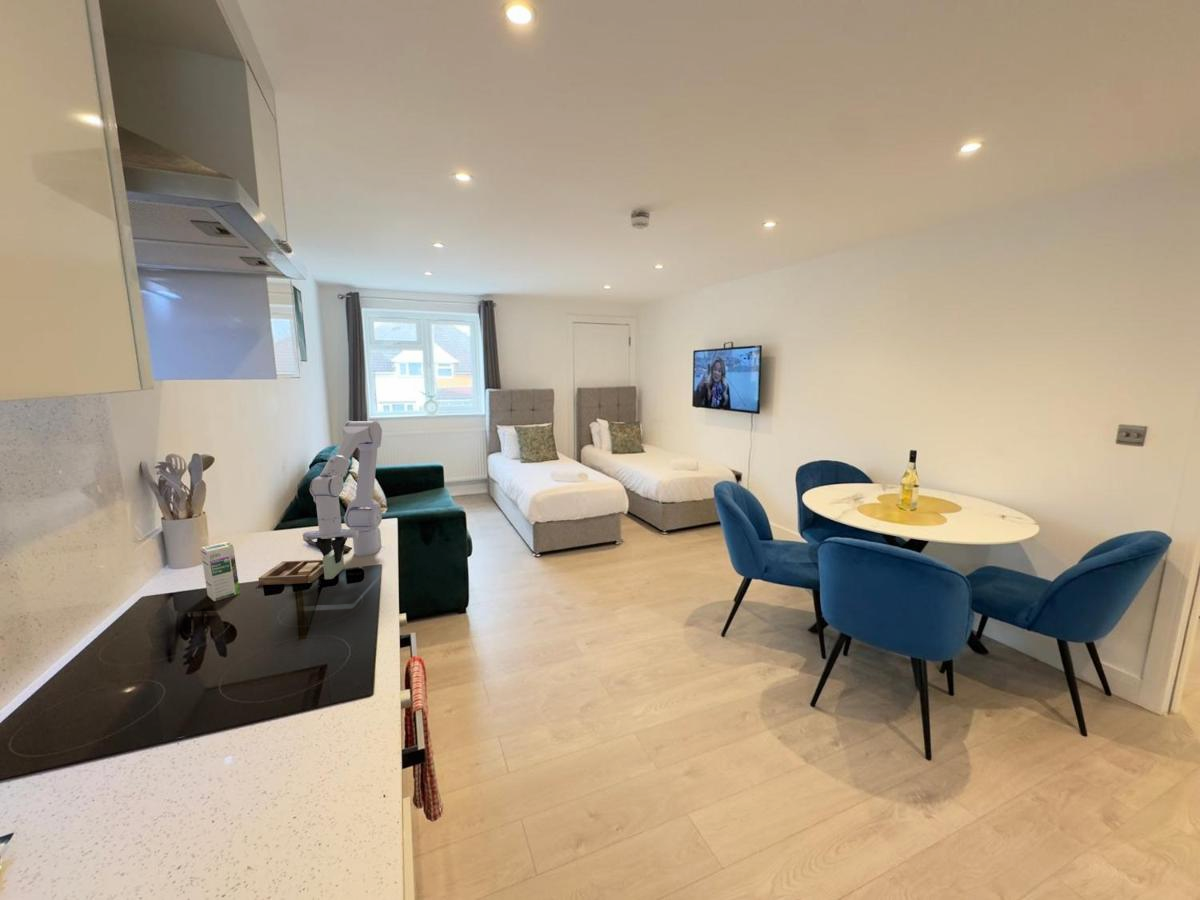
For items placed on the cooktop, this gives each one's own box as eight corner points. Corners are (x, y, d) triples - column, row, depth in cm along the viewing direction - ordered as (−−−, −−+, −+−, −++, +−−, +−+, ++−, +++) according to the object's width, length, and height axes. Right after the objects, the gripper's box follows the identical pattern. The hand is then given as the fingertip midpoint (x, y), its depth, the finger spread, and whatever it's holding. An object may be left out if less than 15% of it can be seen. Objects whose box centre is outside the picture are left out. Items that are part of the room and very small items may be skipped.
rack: (283, 570, 143) (282, 561, 143) (332, 568, 145) (331, 559, 144) (259, 588, 132) (258, 578, 131) (312, 585, 133) (311, 575, 132)
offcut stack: (310, 569, 142) (309, 562, 141) (322, 569, 142) (322, 561, 142) (297, 579, 134) (296, 571, 134) (310, 579, 135) (309, 571, 134)
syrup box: (214, 605, 122) (206, 551, 120) (207, 598, 126) (199, 546, 123) (240, 596, 127) (233, 545, 124) (233, 590, 130) (226, 540, 128)
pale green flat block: (337, 569, 143) (335, 547, 142) (344, 569, 143) (342, 547, 142) (325, 581, 135) (322, 557, 134) (332, 580, 135) (330, 557, 134)
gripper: (295, 522, 132) (300, 568, 134) (349, 520, 133) (353, 566, 135) (308, 515, 139) (312, 559, 141) (359, 513, 140) (363, 556, 142)
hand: (333, 562), depth 138 cm, fingers closed on pale green flat block, 2 cm apart
